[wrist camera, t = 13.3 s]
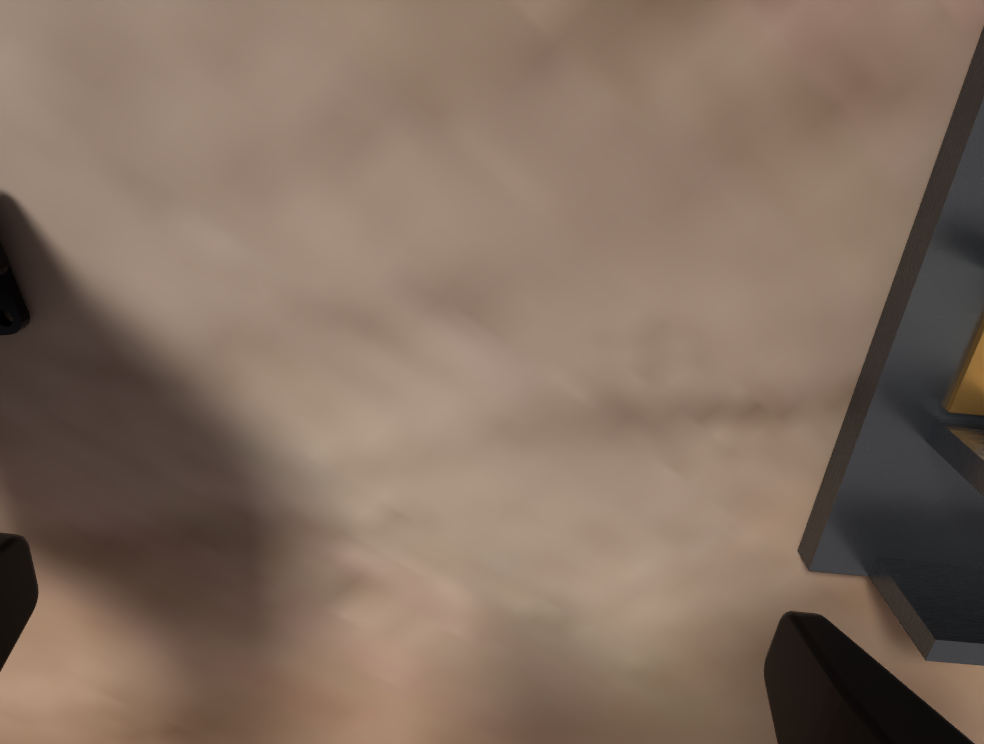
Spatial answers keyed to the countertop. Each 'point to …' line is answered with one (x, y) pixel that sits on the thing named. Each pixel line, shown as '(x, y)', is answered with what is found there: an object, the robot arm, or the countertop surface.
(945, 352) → the panel rack
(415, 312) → the countertop surface
